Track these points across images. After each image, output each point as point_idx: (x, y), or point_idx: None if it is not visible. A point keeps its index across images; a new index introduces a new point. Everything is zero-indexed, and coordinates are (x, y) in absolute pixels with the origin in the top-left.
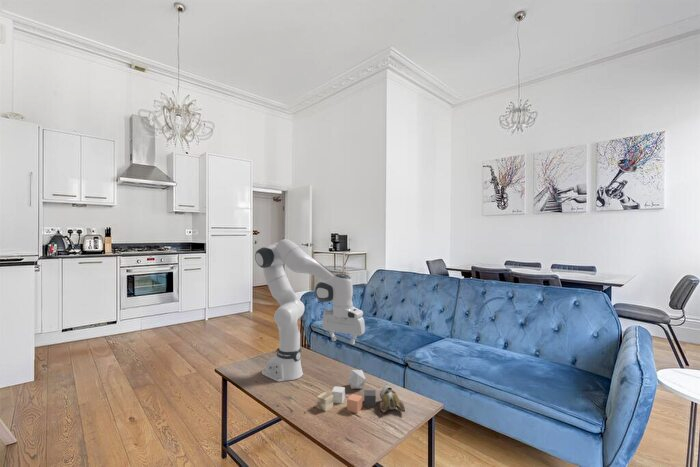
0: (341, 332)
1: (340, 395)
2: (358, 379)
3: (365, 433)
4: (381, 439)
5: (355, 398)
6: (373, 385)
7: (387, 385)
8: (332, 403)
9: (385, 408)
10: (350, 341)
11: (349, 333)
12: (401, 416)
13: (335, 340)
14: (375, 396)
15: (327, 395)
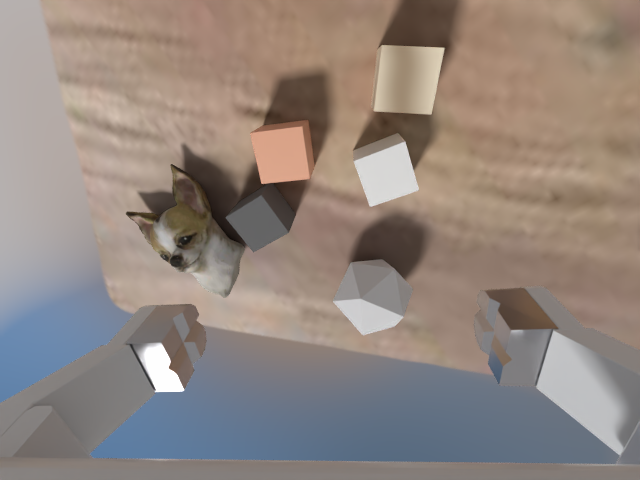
0: (294, 462)
1: (361, 155)
2: (352, 283)
3: (151, 20)
4: (88, 27)
5: (274, 152)
6: (328, 312)
7: (217, 288)
8: (372, 101)
9: (174, 186)
10: (164, 327)
11: (10, 468)
12: (142, 199)
13: (477, 315)
14: (226, 216)
15: (400, 93)
